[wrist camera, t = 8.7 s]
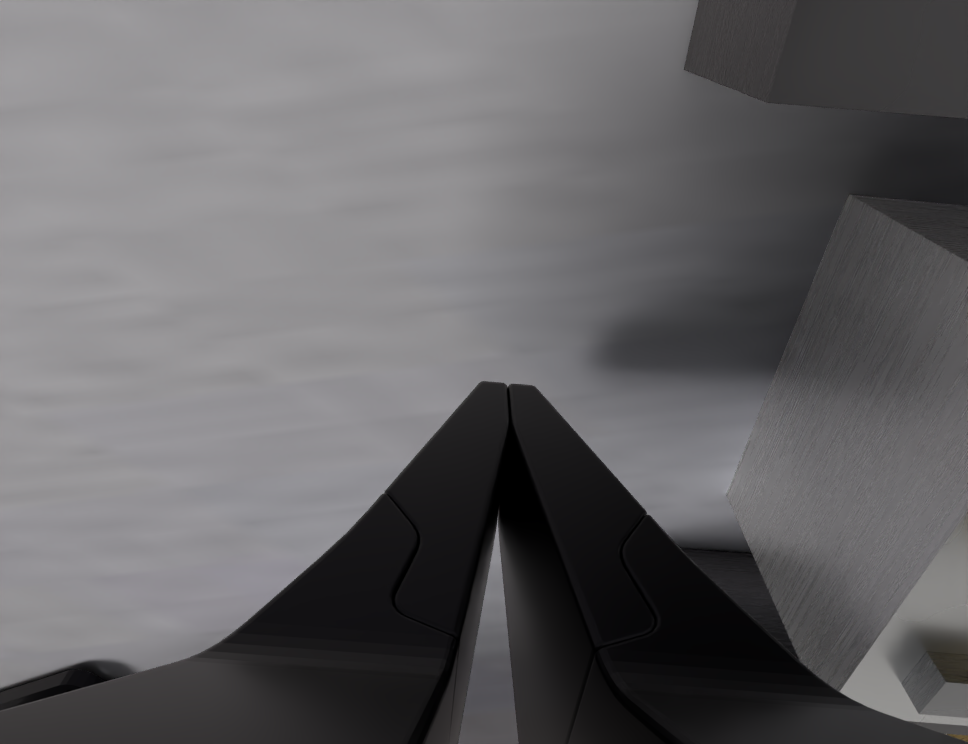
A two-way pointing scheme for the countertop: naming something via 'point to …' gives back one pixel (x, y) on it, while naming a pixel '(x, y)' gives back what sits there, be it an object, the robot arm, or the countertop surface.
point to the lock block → (872, 464)
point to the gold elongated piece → (960, 737)
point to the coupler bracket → (833, 84)
